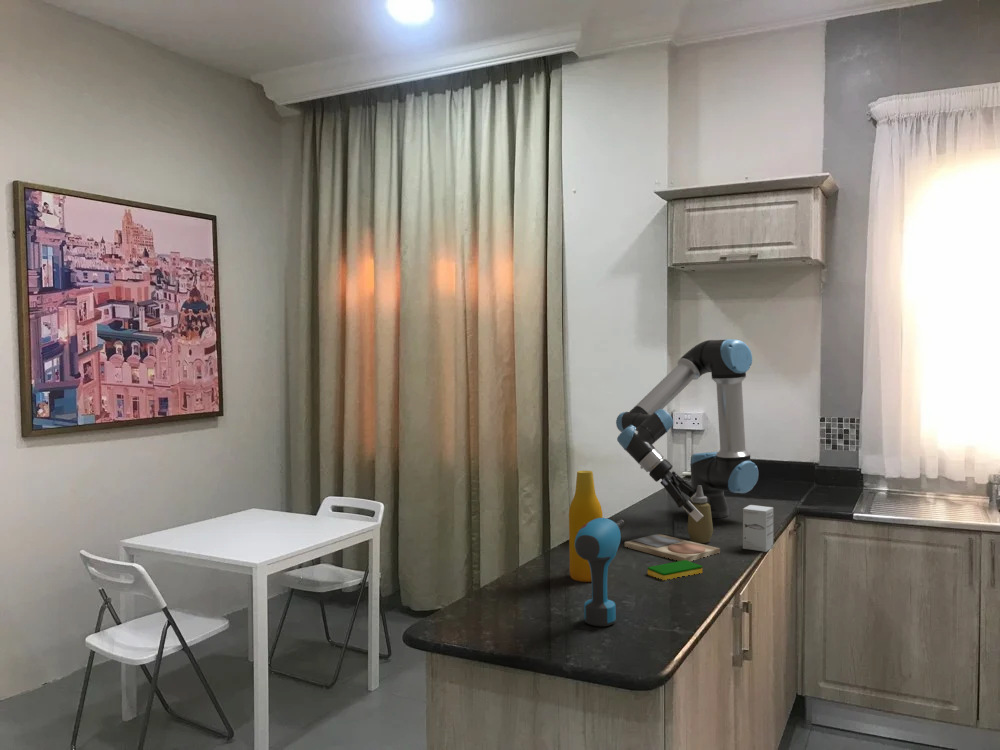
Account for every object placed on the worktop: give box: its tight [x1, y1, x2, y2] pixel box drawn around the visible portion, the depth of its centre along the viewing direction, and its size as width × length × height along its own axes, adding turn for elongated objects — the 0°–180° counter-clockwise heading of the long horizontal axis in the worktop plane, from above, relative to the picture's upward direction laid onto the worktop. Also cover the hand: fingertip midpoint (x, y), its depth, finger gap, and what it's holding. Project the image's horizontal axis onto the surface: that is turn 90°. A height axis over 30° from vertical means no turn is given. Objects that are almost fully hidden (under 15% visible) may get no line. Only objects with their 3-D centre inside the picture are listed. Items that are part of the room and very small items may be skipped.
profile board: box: [624, 533, 721, 562], centre depth 234 cm, size 16×24×2 cm, turn 36°
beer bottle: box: [568, 470, 604, 583], centre depth 208 cm, size 9×9×29 cm
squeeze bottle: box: [686, 485, 714, 544], centre depth 244 cm, size 8×8×18 cm
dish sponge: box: [647, 560, 703, 581], centre depth 210 cm, size 7×14×2 cm, turn 117°
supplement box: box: [742, 504, 775, 553], centre depth 234 cm, size 7×7×13 cm
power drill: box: [575, 517, 625, 627], centre depth 178 cm, size 28×9×23 cm, turn 154°
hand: (703, 514), depth 243 cm, fingers open, 13 cm apart
